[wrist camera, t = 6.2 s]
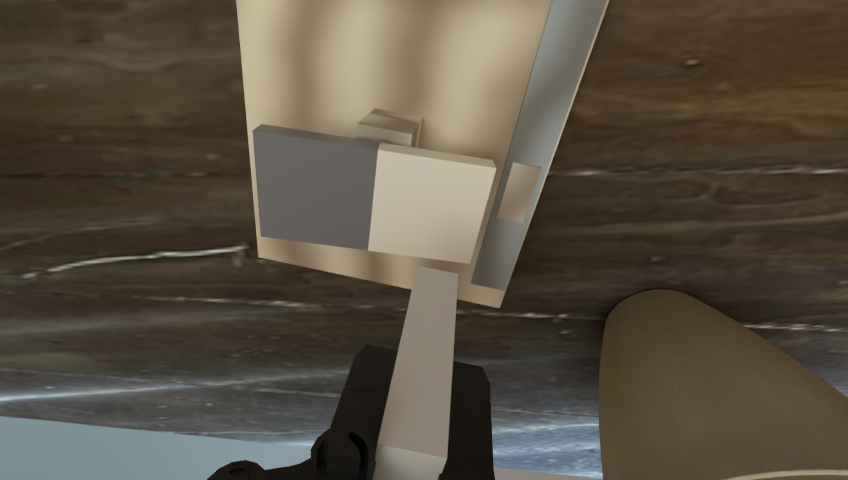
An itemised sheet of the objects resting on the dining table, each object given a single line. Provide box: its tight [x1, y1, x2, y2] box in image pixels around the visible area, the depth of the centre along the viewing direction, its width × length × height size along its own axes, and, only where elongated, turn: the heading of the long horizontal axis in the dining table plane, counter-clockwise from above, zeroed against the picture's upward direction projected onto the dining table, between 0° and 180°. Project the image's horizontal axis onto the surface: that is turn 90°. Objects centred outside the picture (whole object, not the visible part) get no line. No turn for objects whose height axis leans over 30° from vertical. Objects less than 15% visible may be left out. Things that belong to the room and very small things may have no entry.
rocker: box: [252, 124, 496, 264], centre depth 21 cm, size 12×6×2 cm, turn 81°
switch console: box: [236, 0, 609, 308], centre depth 21 cm, size 20×34×6 cm, turn 171°
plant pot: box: [599, 289, 848, 480], centre depth 25 cm, size 15×15×16 cm
